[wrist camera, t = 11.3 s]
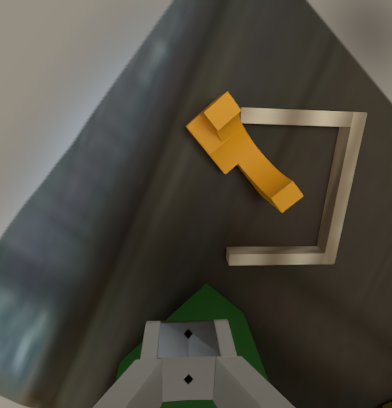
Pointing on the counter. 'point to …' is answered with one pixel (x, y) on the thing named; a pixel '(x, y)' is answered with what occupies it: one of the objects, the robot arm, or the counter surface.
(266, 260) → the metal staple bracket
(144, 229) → the counter surface
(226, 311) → the hardback book
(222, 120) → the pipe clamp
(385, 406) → the flower pot
